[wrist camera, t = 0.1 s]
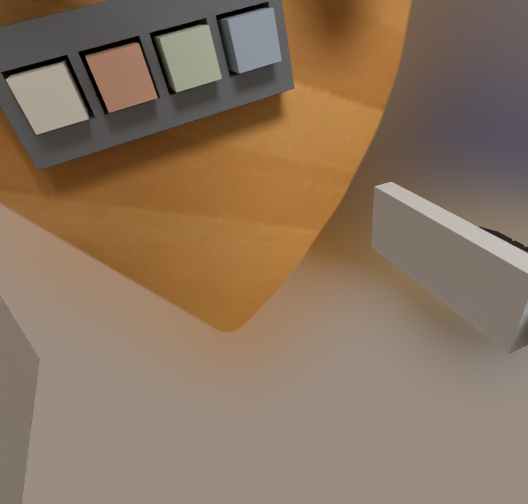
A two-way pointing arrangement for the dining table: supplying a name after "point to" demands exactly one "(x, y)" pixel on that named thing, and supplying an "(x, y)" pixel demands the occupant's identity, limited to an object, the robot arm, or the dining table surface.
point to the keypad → (168, 102)
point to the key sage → (188, 57)
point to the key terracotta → (121, 76)
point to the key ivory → (48, 96)
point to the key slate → (250, 39)
